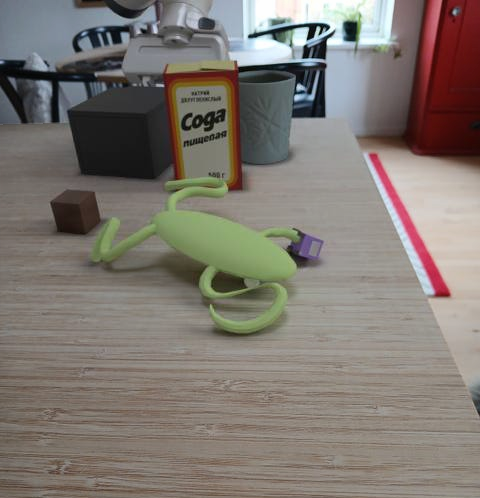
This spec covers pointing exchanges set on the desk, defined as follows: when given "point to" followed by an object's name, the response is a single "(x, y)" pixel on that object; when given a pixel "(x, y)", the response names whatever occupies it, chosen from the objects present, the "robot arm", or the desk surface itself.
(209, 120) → the baking soda box
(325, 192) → the desk surface
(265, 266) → the figurine
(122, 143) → the dark grey box
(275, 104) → the grey green embossed cup
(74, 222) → the block
